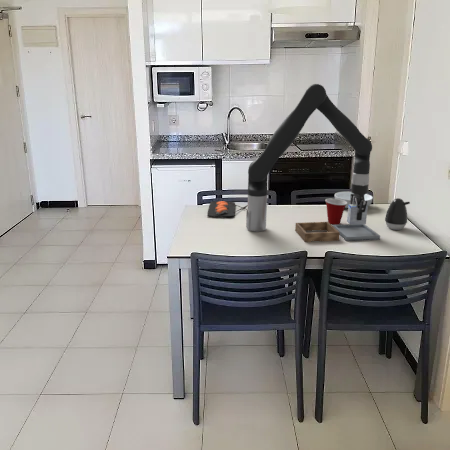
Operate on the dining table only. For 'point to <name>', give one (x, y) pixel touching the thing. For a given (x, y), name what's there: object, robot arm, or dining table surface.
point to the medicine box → (355, 215)
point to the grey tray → (356, 232)
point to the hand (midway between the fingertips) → (356, 218)
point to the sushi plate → (222, 209)
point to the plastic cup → (335, 210)
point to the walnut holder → (318, 236)
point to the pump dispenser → (396, 214)
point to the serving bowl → (347, 197)
